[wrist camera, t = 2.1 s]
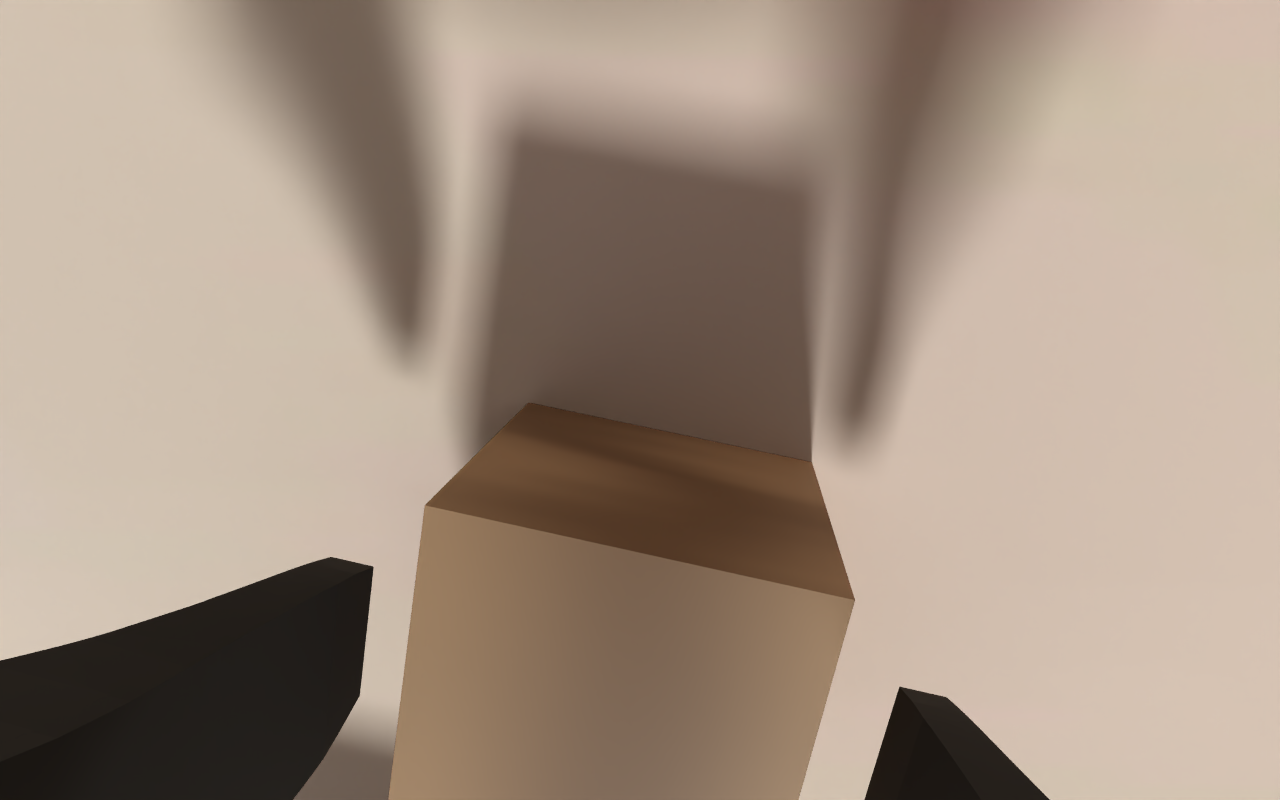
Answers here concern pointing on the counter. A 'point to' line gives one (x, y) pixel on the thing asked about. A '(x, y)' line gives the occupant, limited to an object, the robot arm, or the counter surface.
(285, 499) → the counter surface
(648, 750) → the walnut block
